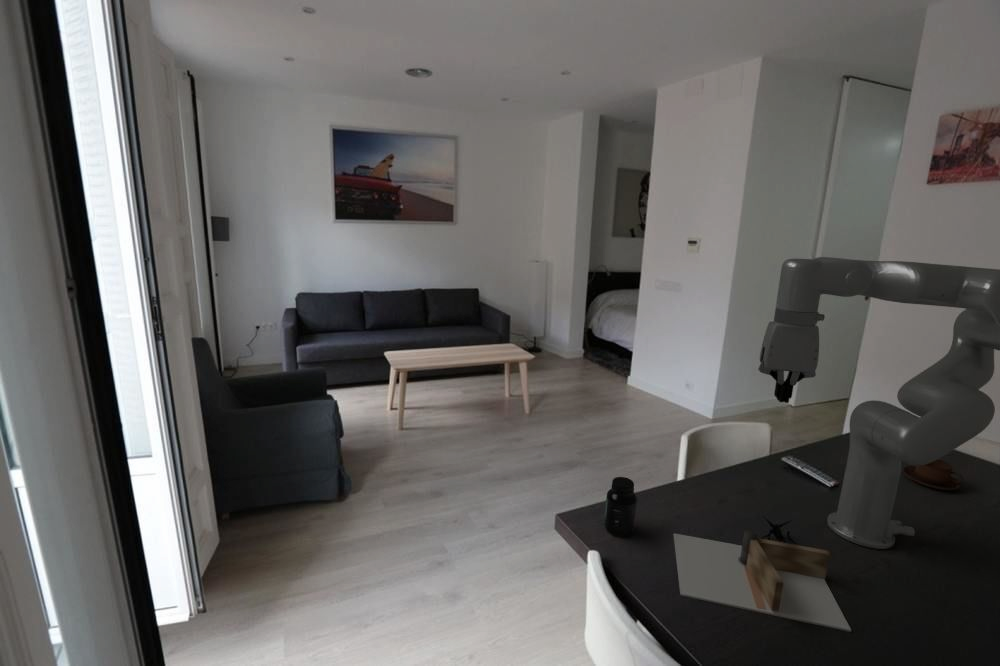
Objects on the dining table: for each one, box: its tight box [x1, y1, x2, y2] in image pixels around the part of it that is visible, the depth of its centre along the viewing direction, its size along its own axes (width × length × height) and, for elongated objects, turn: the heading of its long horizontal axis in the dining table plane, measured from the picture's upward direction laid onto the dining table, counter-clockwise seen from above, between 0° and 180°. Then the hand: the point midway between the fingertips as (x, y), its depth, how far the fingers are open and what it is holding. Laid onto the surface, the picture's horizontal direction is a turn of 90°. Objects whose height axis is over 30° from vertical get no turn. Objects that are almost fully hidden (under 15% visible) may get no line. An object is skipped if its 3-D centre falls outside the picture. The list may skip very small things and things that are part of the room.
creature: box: [760, 515, 798, 545], centre depth 104 cm, size 8×5×8 cm
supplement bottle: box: [604, 476, 638, 538], centre depth 108 cm, size 7×7×12 cm
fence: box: [740, 530, 831, 579], centre depth 96 cm, size 15×2×7 cm, turn 74°
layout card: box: [673, 533, 852, 633], centre depth 94 cm, size 28×19×1 cm
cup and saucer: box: [903, 458, 964, 491], centre depth 132 cm, size 12×12×6 cm
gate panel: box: [747, 540, 783, 611], centre depth 90 cm, size 12×1×6 cm, turn 173°
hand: (782, 400), depth 103 cm, fingers closed
